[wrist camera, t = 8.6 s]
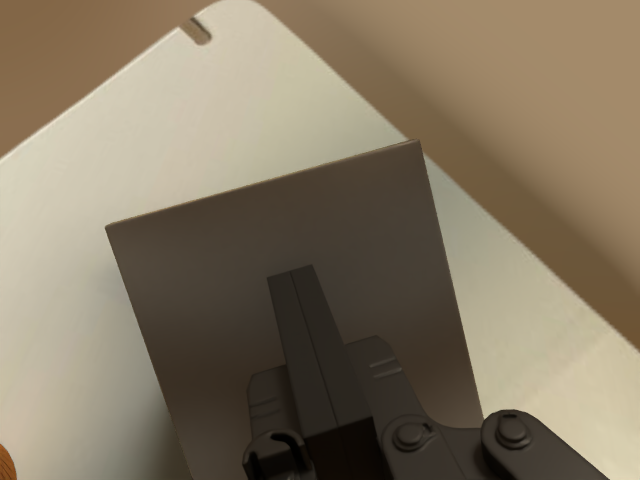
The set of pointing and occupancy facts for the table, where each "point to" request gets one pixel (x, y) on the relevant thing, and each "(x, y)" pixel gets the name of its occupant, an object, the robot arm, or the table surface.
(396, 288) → the lid
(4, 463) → the disposable coffee cup
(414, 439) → the robot arm
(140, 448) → the table surface
